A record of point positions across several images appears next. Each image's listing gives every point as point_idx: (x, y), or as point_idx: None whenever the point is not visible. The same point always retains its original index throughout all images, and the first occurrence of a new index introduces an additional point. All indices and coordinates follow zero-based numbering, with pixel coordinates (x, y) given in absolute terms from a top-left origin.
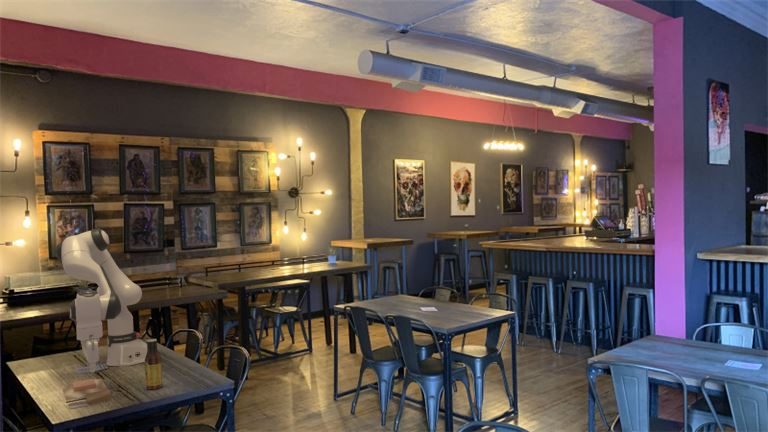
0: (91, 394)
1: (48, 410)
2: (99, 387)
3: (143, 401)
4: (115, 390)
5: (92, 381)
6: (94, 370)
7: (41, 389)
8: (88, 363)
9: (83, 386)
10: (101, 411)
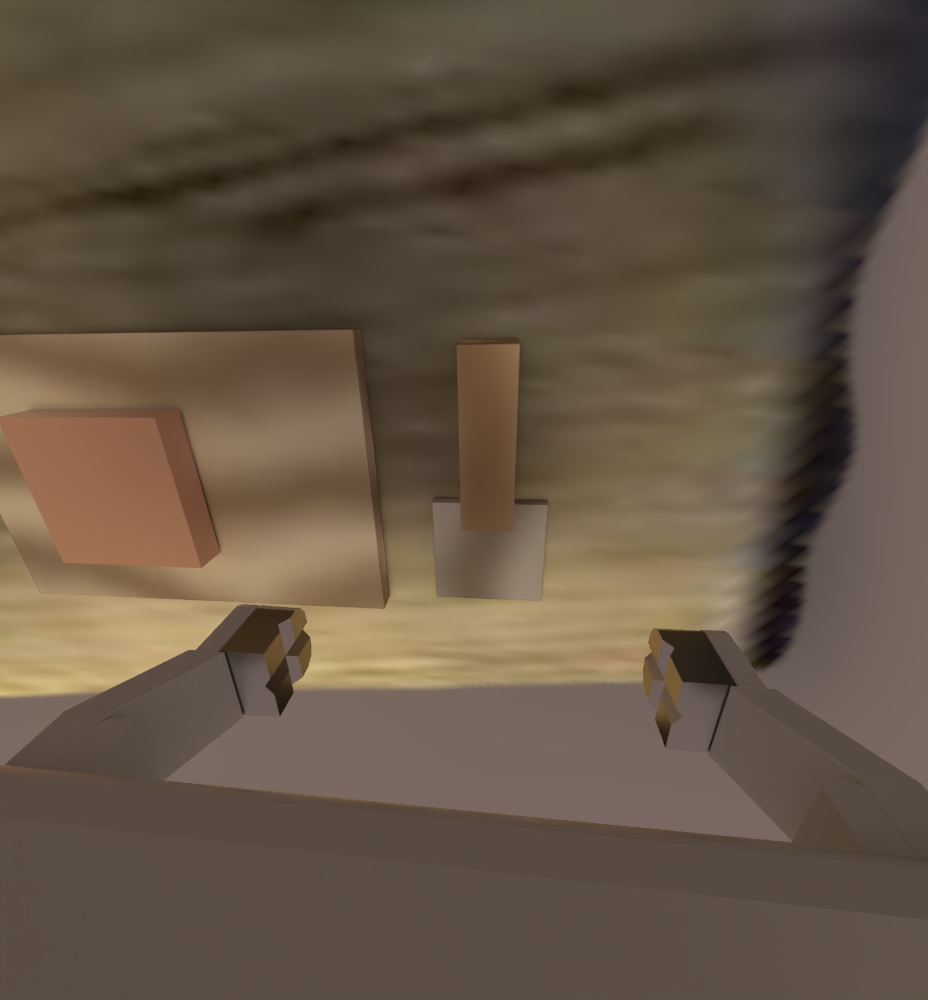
0: (512, 499)
1: (465, 675)
2: (182, 385)
3: (846, 13)
4: (261, 258)
5: (74, 434)
6: (731, 656)
7: (36, 659)
8: (283, 693)
9: (185, 507)
10: (767, 439)
